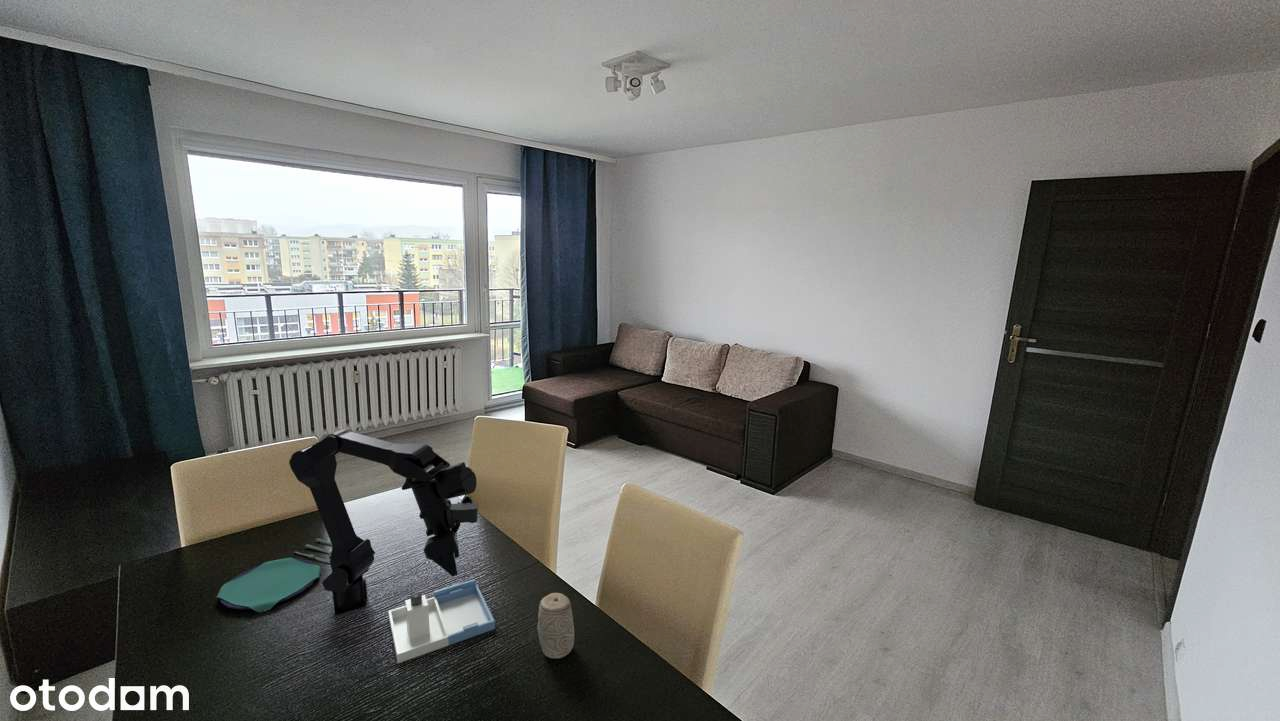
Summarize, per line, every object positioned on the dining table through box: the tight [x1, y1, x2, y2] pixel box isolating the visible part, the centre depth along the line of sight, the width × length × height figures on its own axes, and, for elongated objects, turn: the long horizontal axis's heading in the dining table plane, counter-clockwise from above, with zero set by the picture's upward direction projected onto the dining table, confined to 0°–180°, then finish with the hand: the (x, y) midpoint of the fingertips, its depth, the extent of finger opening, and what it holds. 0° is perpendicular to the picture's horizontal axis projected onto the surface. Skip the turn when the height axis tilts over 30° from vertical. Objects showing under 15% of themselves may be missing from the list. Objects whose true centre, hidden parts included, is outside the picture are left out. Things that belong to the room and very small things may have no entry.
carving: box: [537, 592, 575, 659], centre depth 105 cm, size 6×8×12 cm
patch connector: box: [404, 592, 430, 640], centre depth 110 cm, size 4×4×9 cm
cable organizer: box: [387, 578, 496, 664], centre depth 113 cm, size 20×16×4 cm
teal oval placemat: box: [216, 537, 332, 613], centre depth 129 cm, size 20×30×2 cm, turn 162°
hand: (456, 565), depth 113 cm, fingers open, 9 cm apart
